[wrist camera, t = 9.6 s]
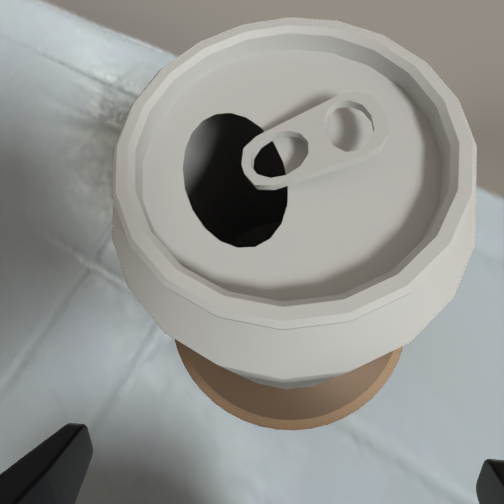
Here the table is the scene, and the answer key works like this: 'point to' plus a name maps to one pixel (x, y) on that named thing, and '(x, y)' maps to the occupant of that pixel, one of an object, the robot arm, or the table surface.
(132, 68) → the table surface
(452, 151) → the can
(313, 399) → the brown wooden disc
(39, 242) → the table surface
